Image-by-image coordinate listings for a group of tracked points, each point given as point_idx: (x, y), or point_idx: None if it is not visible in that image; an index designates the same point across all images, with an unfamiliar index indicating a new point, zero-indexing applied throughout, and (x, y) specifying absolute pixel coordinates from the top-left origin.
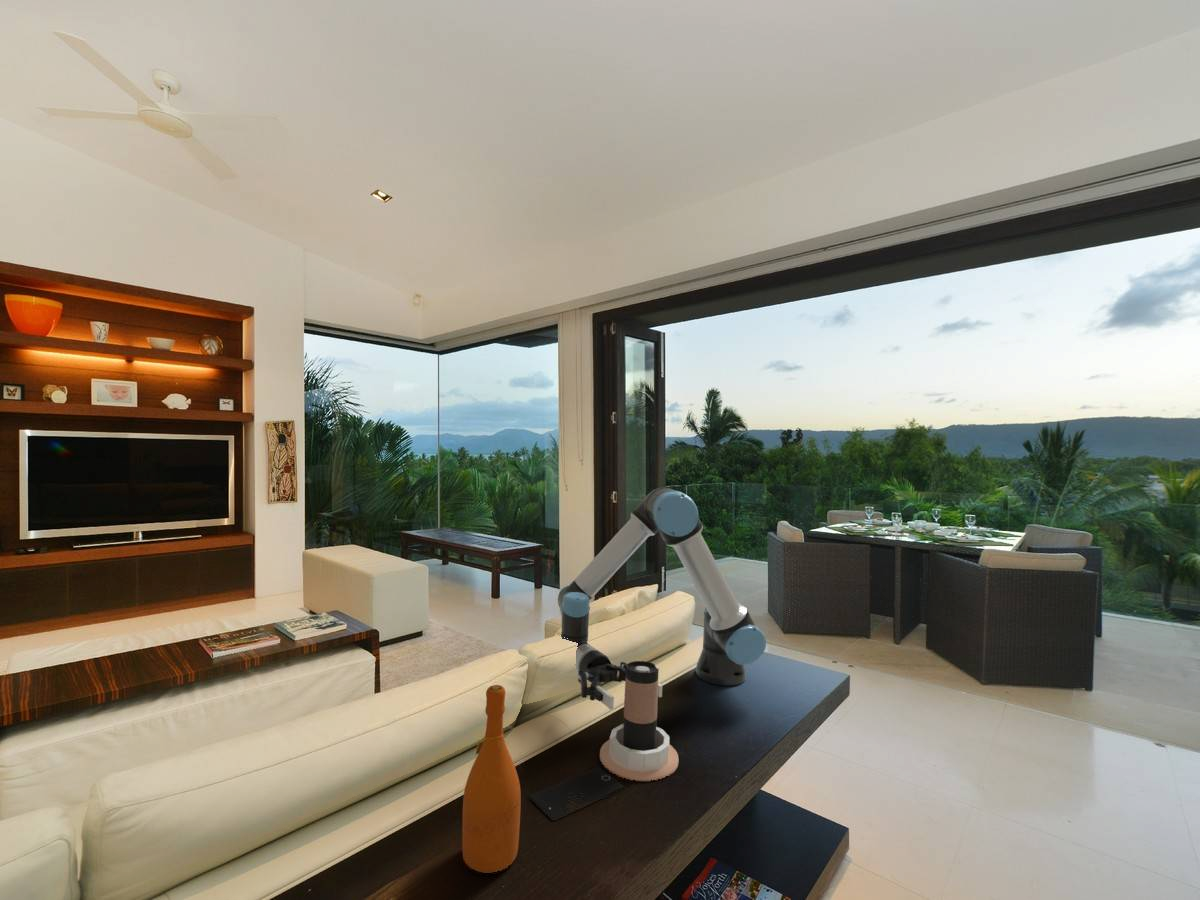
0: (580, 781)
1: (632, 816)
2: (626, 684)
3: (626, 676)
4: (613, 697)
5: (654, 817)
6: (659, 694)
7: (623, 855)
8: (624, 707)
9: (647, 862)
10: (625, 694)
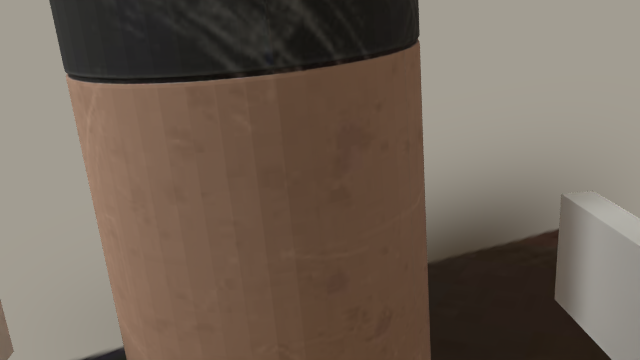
0: None
1: (505, 324)
2: (420, 101)
3: (418, 19)
4: (563, 197)
5: (436, 311)
6: (4, 325)
7: None
8: (428, 331)
9: (505, 243)
10: (424, 209)
